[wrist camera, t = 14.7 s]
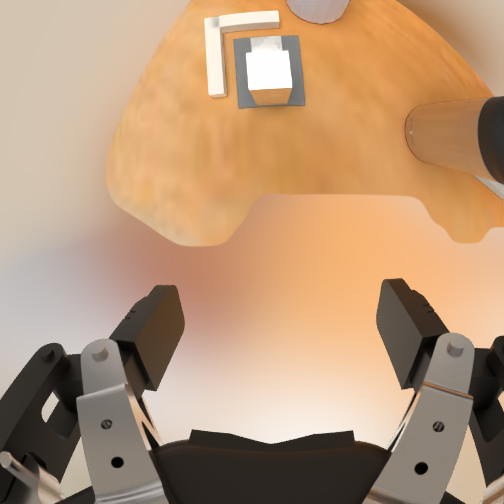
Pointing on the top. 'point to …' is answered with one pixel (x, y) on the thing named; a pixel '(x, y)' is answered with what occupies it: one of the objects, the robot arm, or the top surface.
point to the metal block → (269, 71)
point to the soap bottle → (318, 9)
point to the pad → (297, 90)
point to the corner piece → (216, 45)
